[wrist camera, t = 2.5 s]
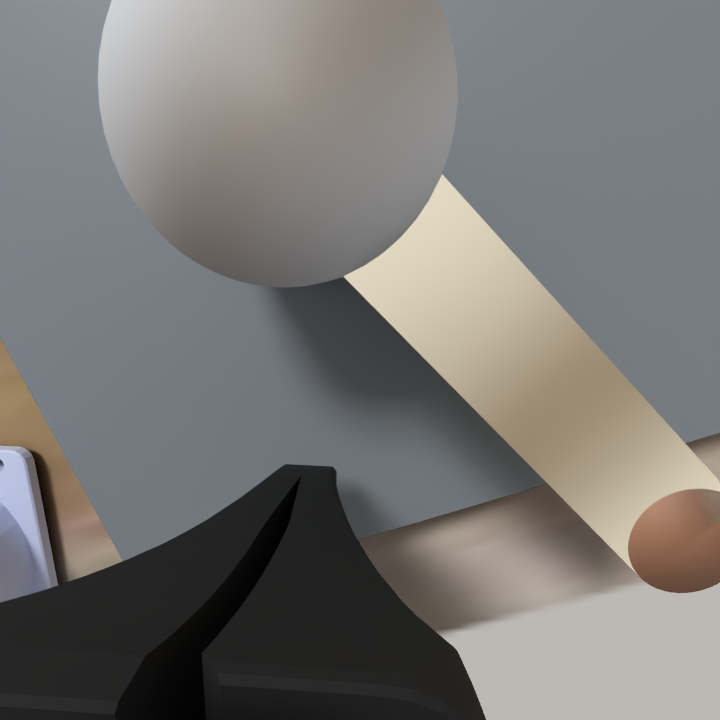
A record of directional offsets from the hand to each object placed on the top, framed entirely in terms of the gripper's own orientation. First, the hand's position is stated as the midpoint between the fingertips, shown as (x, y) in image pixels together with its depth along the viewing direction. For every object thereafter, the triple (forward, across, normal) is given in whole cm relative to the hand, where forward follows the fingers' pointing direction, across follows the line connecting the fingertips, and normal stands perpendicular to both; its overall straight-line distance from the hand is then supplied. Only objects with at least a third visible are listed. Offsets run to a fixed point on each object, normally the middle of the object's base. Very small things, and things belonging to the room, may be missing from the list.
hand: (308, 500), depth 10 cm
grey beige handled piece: (+1, -3, -5) cm, 6 cm away
